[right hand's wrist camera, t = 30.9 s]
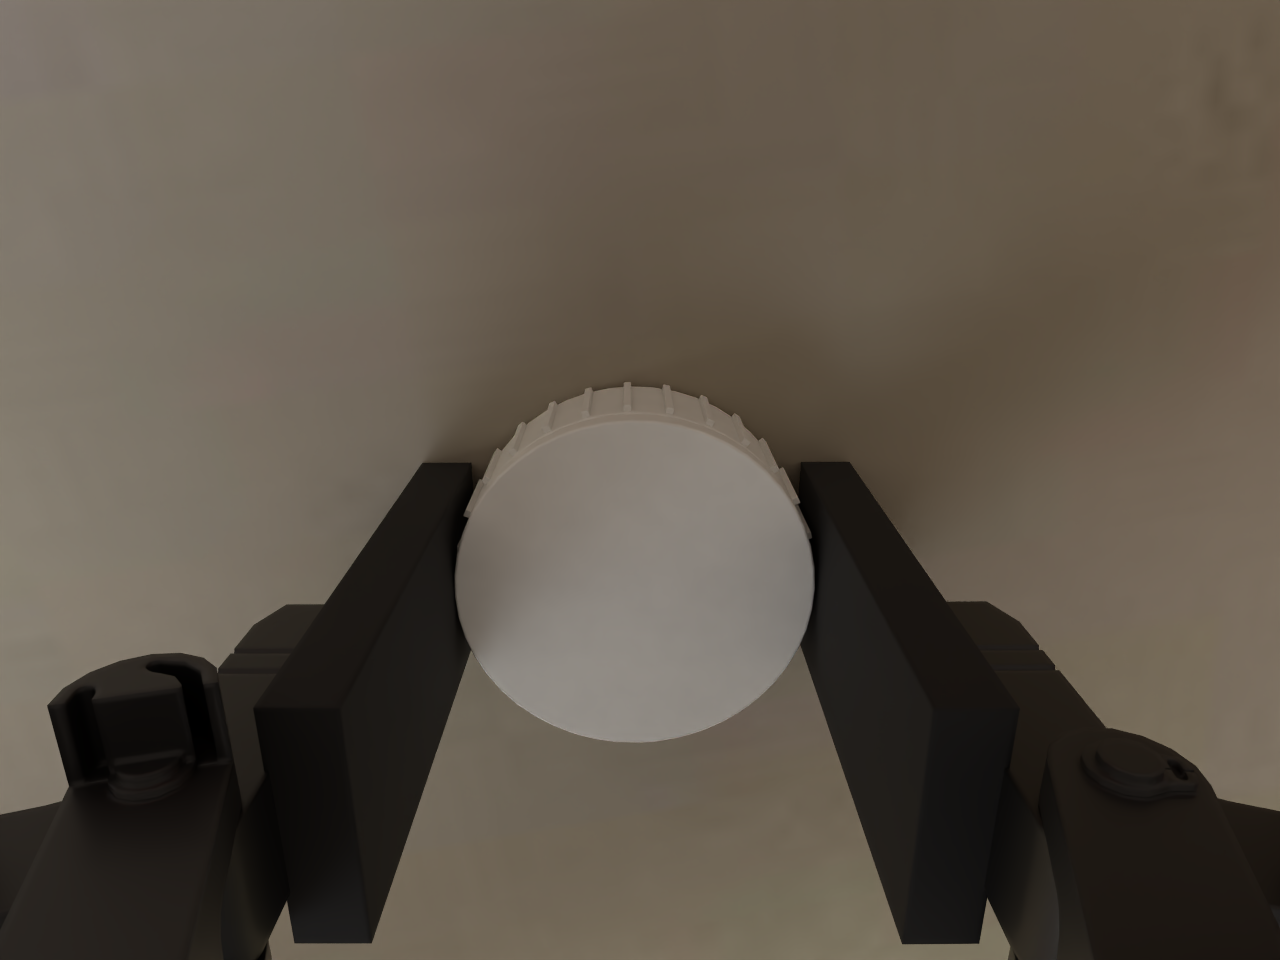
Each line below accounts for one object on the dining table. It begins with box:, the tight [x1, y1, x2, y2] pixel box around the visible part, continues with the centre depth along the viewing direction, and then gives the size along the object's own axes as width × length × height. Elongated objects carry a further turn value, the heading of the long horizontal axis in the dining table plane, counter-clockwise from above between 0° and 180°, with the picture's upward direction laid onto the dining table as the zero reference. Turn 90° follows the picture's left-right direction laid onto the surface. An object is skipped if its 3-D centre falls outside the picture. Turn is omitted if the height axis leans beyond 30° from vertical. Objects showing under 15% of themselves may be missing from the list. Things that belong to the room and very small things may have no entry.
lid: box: [454, 382, 815, 743], centre depth 13 cm, size 5×5×2 cm
